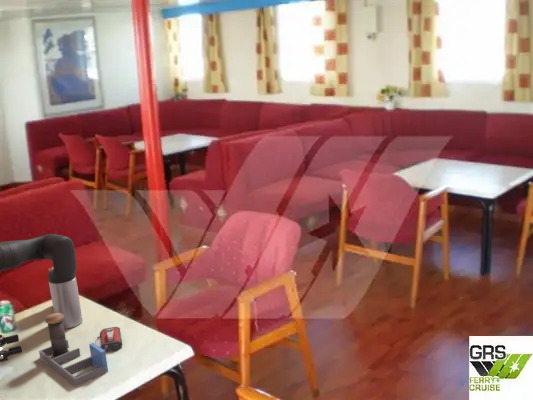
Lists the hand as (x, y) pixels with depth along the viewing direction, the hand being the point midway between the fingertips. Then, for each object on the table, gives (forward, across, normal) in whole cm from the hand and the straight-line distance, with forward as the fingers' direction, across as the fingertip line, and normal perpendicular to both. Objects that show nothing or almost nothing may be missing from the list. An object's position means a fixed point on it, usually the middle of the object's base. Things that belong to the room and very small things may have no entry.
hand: (20, 343), depth 197 cm
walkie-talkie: (+26, -3, +9) cm, 28 cm away
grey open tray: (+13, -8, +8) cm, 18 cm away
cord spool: (+11, 0, +8) cm, 14 cm away
